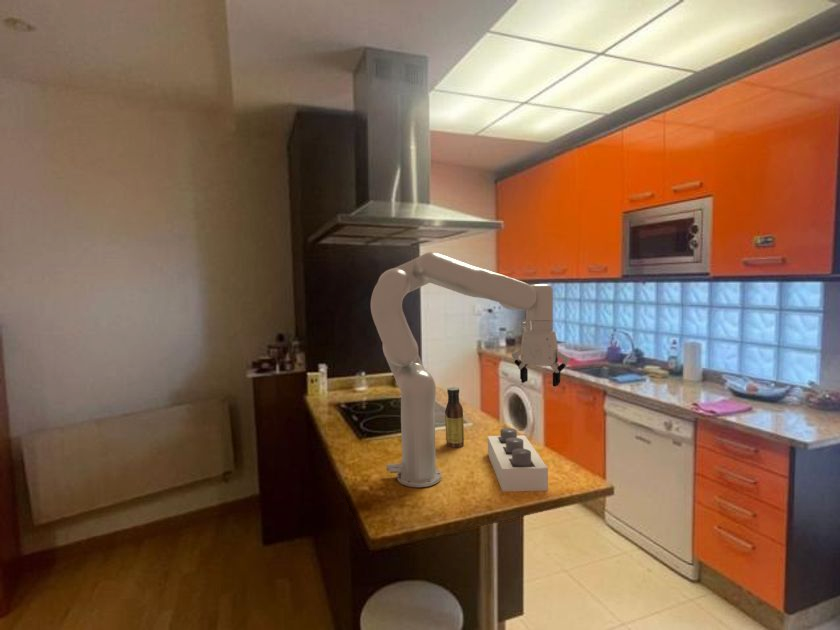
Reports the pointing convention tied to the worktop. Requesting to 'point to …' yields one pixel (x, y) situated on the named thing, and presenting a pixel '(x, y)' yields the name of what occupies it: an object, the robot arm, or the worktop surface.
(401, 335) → the robot arm
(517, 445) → the middle cap
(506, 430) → the far cap
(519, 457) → the near cap
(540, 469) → the button panel
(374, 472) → the worktop surface
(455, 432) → the sauce bottle
